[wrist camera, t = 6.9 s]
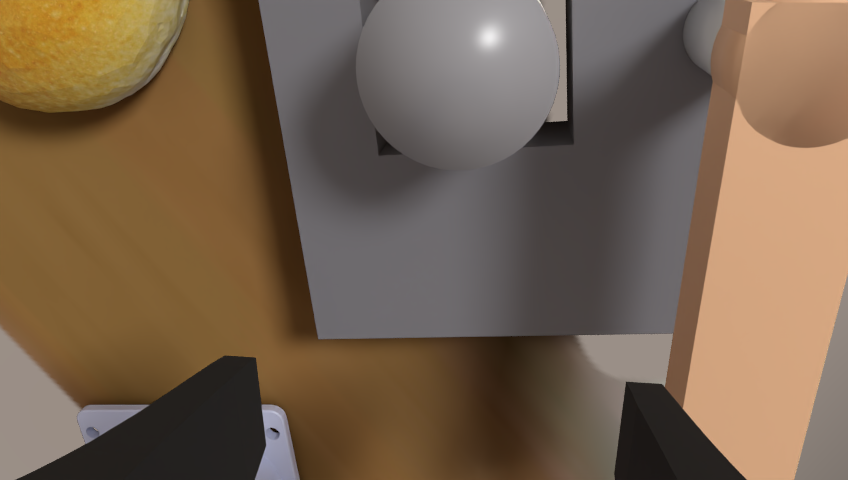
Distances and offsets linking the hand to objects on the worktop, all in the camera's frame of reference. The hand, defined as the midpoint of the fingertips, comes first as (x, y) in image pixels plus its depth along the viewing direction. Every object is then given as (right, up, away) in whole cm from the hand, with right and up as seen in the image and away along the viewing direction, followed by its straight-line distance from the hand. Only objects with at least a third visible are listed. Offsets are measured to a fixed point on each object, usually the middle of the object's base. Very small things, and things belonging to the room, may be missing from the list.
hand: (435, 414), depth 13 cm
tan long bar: (+6, +2, +2) cm, 7 cm away
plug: (+1, +9, +6) cm, 11 cm away
